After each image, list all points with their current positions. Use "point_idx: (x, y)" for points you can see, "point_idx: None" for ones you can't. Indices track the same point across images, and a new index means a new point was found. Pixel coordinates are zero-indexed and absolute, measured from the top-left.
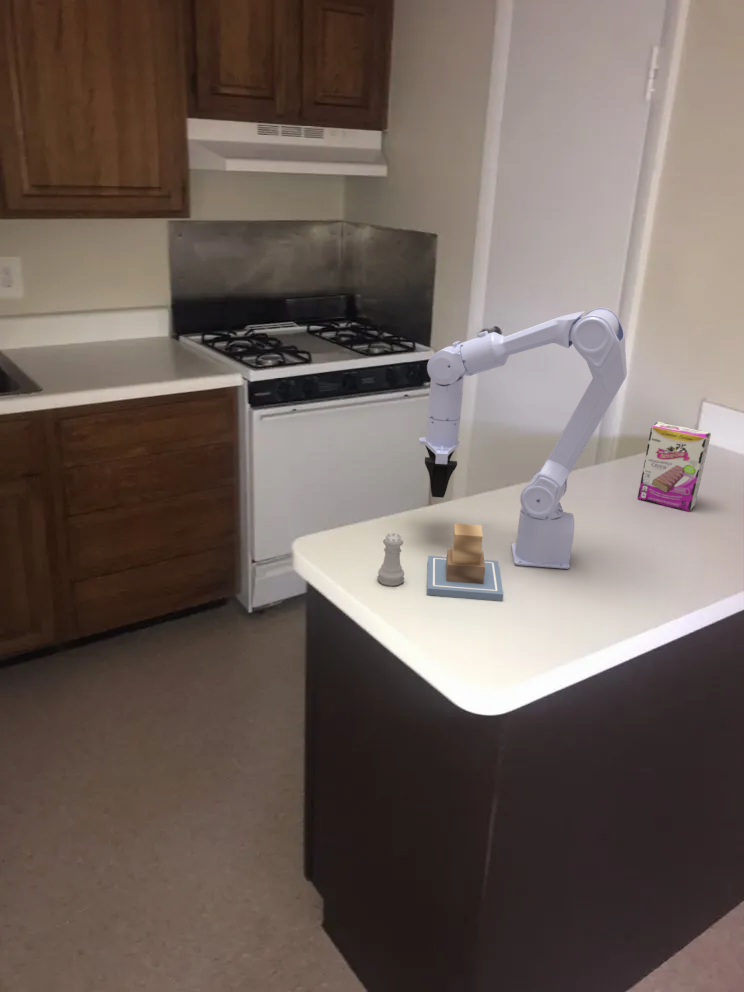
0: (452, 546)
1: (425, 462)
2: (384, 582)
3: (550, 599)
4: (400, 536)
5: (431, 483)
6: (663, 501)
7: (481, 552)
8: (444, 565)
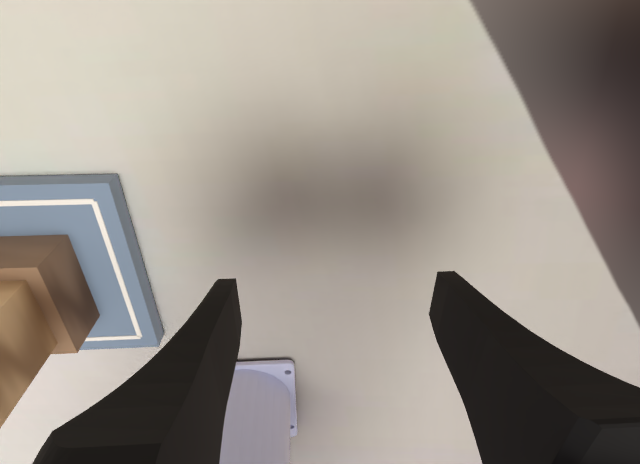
0: (6, 293)
1: (39, 461)
2: None
3: (54, 408)
4: None
5: (182, 330)
6: None
7: (66, 349)
8: (59, 231)
